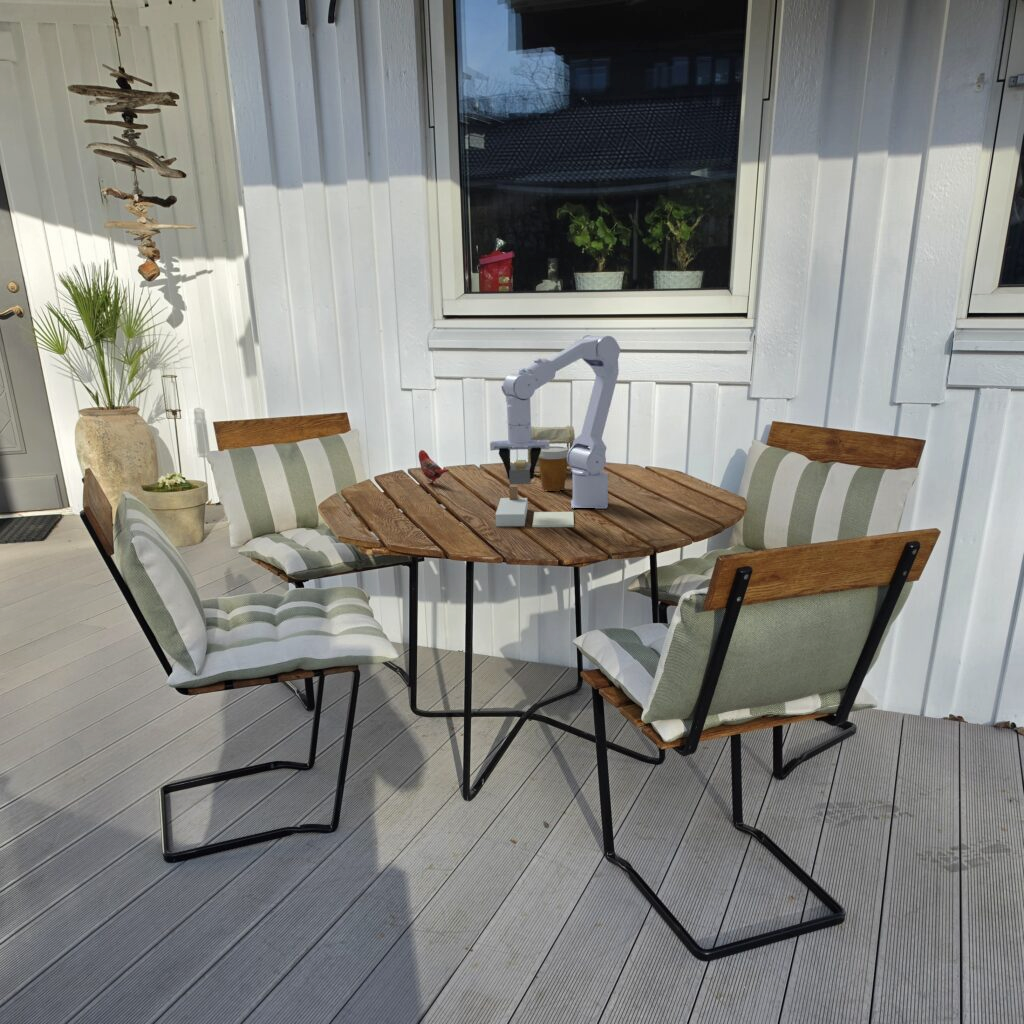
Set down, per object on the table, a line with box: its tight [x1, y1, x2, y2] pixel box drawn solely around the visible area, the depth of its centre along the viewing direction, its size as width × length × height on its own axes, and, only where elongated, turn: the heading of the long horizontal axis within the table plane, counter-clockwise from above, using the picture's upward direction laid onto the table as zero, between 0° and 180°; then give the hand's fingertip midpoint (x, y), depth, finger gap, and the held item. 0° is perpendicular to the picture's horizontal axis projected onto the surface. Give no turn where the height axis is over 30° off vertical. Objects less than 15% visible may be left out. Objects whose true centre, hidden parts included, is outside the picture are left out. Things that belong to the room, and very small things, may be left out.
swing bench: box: [527, 425, 576, 474], centre depth 238 cm, size 15×10×15 cm, turn 91°
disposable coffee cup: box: [538, 445, 568, 491], centre depth 216 cm, size 10×10×12 cm
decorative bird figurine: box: [418, 449, 450, 485], centre depth 226 cm, size 3×18×10 cm, turn 37°
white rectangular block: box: [495, 484, 529, 527], centre depth 189 cm, size 7×16×6 cm, turn 176°
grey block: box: [508, 459, 532, 485], centre depth 186 cm, size 5×8×4 cm, turn 176°
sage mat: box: [531, 511, 575, 528], centre depth 187 cm, size 10×12×1 cm
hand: (520, 478), depth 187 cm, fingers closed on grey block, 5 cm apart
